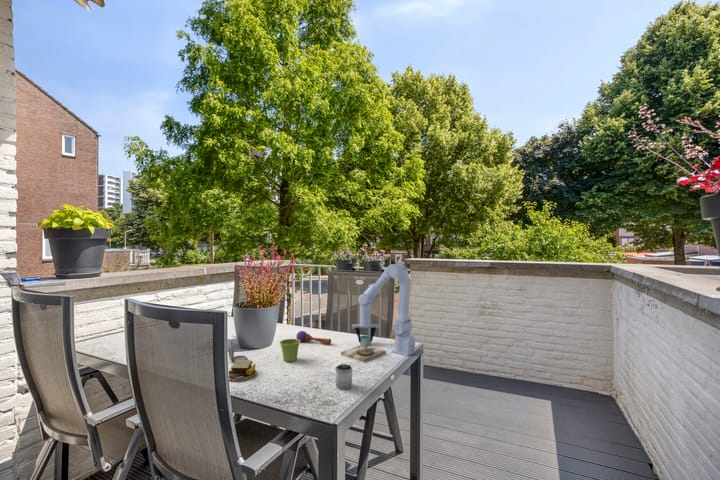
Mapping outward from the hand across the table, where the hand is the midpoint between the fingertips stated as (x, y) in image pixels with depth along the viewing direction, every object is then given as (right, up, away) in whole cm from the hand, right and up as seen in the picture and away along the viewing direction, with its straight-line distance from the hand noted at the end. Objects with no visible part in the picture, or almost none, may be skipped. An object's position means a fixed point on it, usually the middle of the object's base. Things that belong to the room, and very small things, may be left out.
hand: (365, 341), depth 185 cm
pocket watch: (-60, -1, -25) cm, 65 cm away
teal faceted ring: (0, -1, 0) cm, 1 cm away
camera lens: (-9, -2, -54) cm, 54 cm away
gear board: (-1, -1, -16) cm, 16 cm away
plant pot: (-35, -2, -25) cm, 43 cm away
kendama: (-28, -2, +3) cm, 28 cm away
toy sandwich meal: (-52, -2, -43) cm, 68 cm away
